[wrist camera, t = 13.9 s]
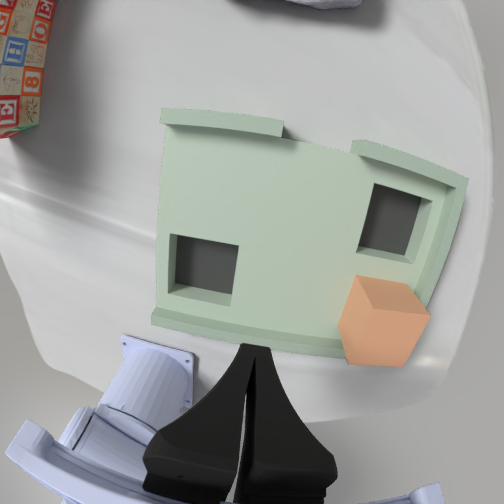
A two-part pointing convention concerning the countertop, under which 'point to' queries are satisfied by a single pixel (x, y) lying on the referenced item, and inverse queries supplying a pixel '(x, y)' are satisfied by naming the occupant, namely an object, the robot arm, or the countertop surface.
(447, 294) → the countertop surface
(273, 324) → the board
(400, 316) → the block
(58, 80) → the countertop surface
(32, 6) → the stack of blocks
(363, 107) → the countertop surface
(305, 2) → the stone block
